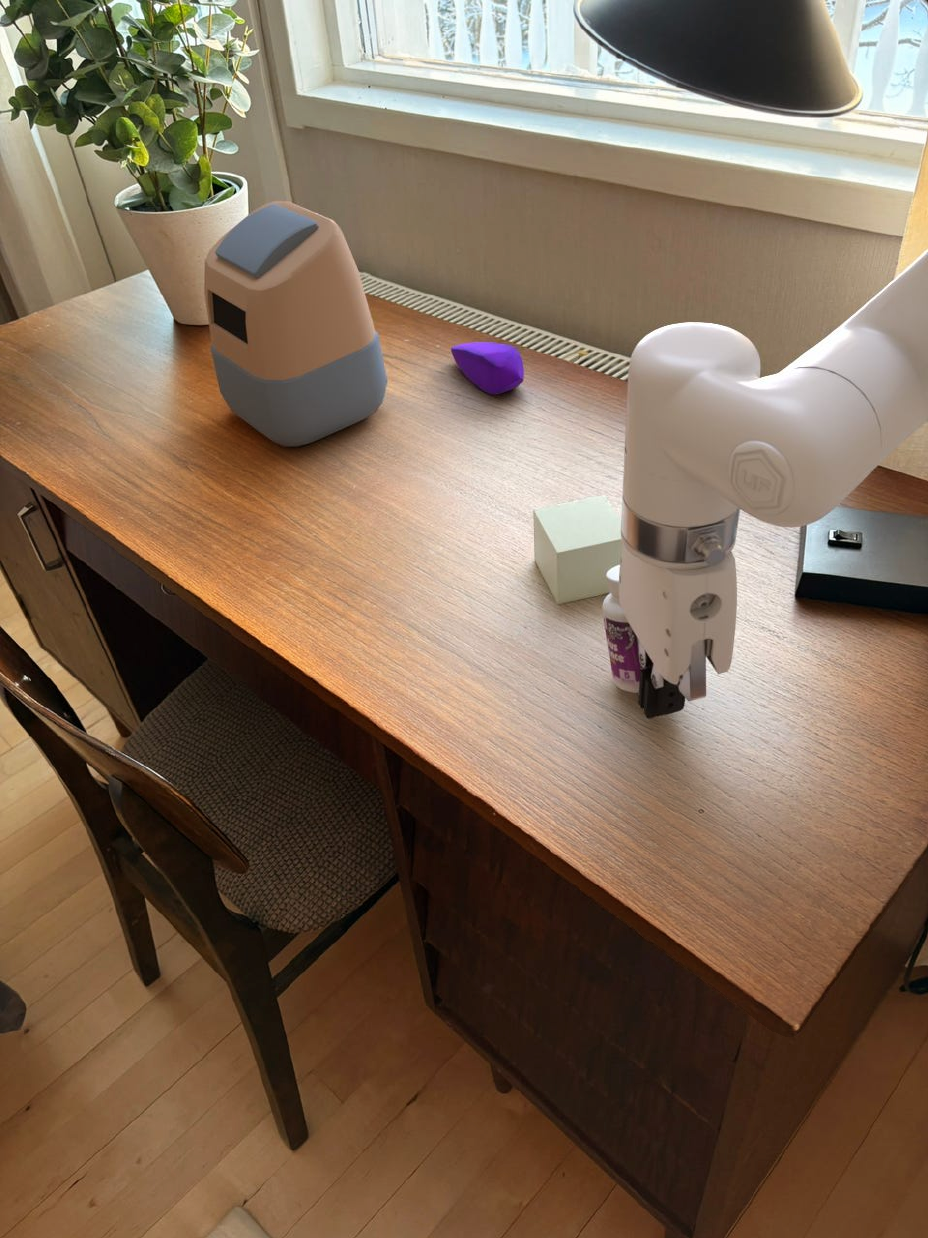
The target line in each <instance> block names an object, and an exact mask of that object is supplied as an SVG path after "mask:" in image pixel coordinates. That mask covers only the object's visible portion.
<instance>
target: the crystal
mask: <svg viewBox="0 0 928 1238" xmlns="http://www.w3.org/2000/svg"><path fill="white" fill-rule="evenodd" d="M450 352H451V355H452V357H453V359H454V361H455V363H456V365H457V367H458V368H459V370H460V371H461V372H462V373H463V374H464V376H465V377H466V378H467V379H468V381H470V382H471V383H472V384H473V385H475V386H476V387H477V388H479V389H481V390H482V391H484V392H486V393H488V394H489V395H492V396H493V395H500V394H502V393H505V392H508V391H509V392H510V391H511V390H513V389H515V388H517V387H519V386H520V385H522V383H524V378H525V368H524V361H523V358H522V356H521V354H520V352H519V350H518V348H516V347H514V346H512V345H510V344H505V343H504V344H503V343H497V342H492V341H491V342H490V341H480V342H479V341H478V342H477V341H476V342H466V343H461V344H457V345H454V346H452V347H451V348H450Z"/></svg>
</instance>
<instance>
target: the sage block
mask: <svg viewBox="0 0 928 1238" xmlns="http://www.w3.org/2000/svg"><path fill="white" fill-rule="evenodd" d="M532 519H533V520H532V521H533V556H534V557H533V558H534V562H535V564H536V566H537V567H538V569H539V572H540V574H541V576H542V577H543V579H544V581H545V583H546V585H547V587H548V589H549V591H550V593H551V595H552V597H553V599H554V602H555V603H556V605H562V604H566V603H571V602H575V601H579V600H584V599H588V598H592V597H597V596H598V597H599V596H601V595H606V594H607V595H608V594H610V592H609V590H608V588H607V579H606V574H607V572H608V571H609V570H610V569H611V568H613V567H615V566H618V565H620V559H621V550H622V540H621V517H620V516H619V514H618V513H617V511H616V510H615V508H614V507H613V506H612V504H611V503H610V501H609V500H608V498H607V496H606V495H605V494H600V495H594V496H590V497H585V498H581V499H576V500H571V501H567V502H562V503H558V504H552V505H548V506H542V507H538V508H533V509H532Z"/></svg>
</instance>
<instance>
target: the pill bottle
mask: <svg viewBox="0 0 928 1238" xmlns="http://www.w3.org/2000/svg"><path fill="white" fill-rule="evenodd" d="M619 570H620V565H618V566H615V567H613V568H611V569H610V570H609V571H608V572H607V574H606V579H607V588H608V590H609V592H610V593H608V594H607V595H606V597H605V598H604V599H603V603H602V609H601V612H602V618H603V624H604V630H605V639H606V644H607V651H608V652H607V653H608V657H609V664H610V671H611V676H612V680H613V683H614V684H615V685H616V686H617V687H618V688H619V689H621V690H623V691H626V692H628V693H635V694H639V682H640V670H642V669H646V667H644V668H643V667H642V666H641V664H640V661H639V643H638V638H637V636H636V634H635V633H634V631H633V629H632V627H631V626H630V624H629V622H628V621H627V619H626V617H625V615H624V613H623V611H622V608H621V605H620V601H619Z"/></svg>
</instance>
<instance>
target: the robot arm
mask: <svg viewBox="0 0 928 1238" xmlns="http://www.w3.org/2000/svg"><path fill="white" fill-rule="evenodd" d="M926 423H928V248H927V249H926V250H925V251H924V252H923V253H922V254H921V255H920V256H919V257H918V258H917V259H916V260H914V261H913V262H912V263H911V264H910V265H909V266H908V267H907V268H905V269H904V270H903V271H902V273H901V272H900V274H899V275H898V276H897V277H895V278H894V279H893V280H892V281H890V283H888V285H886V286H885V287H884V288H883V289H882V290H881V291H879V292H878V293H877V294H876V295H875V296H873V297H872V298H871V299H870V300H869V301H868V302H867V303H866V304H865V305H864V306H862V307H861V308H859V310H858V311H856V312H855V313H853V315H852V316H850V317H849V318H847V319H846V321H844V322H843V323H842V324H841V325H840V326H838V327H837V328H836V329H835V330H833V331H831V332H830V334H828V335H827V336H826V337H825V338H824V339H822V340H821V341H820V342H818V343H817V344H816V345H814V346H813V347H812V348H810V349H808V350H807V351H806V352H804V353H803V354H801V355H800V356H799V357H798V358H797V359H795V360H794V361H792V362H791V363H790V364H788V365H787V366H786V367H785V368H783V369H782V370H781V371H780V372H778V373H775V374H771V375H767V376H763V377H761V359H760V355H759V352H758V350H757V347H755V344H754V343H753V342H752V341H751V339H749V338H748V337H747V336H746V335H744V334H743V333H741V332H739V331H738V330H736V329H733V328H731V327H729V326H724V325H721V324H717V323H711V322H709V323H708V322H680V323H674V324H670V325H669V324H668V325H665V326H663V327H660V328H658V329H655V330H653V331H651V332H650V333H648V334H646V335H645V336H644V337H643V338H642V339H641V340H640V341H639V342H638V343H637V344H636V346H635V348H634V349H633V351H632V354H631V356H630V358H629V364H628V374H627V392H626V411H625V429H624V430H625V432H624V433H625V434H624V453H623V454H624V455H623V475H622V496H621V514H620V515H621V517H620V519H621V540H622V550H621V559H620V570H619V601H620V605H621V608H622V611H623V613H624V615H625V617H626V619H627V621H628V622H629V624H630V626H631V627H632V629H633V631H634V633H635V634H636V636H637V638H638V643H639V661H640V664H641V666H642V667H643V668H644V667H646V669H642V670H640V682H639V693H638V697H637V704H638V706H639V707H640V709H641V710H642V711H643V715H644V716H645V718H646V719H648V720H649V719H654V718H658V717H661V716H667V715H672V714H675V713H677V712H680V711H683V709H684V708H685V704H686V700H687V702H692V701H696V700H701V699H704V698H706V697H707V660H708V662H709V664H710V665H711V666H712V668H713V669H714V671H715V672H716V674H717V675H721V674H725V673H728V672H729V670H730V668H731V665H732V661H733V655H734V646H735V637H736V636H735V635H736V627H737V626H736V623H737V612H738V611H737V609H738V581H737V568H736V566H737V565H736V559H735V556H734V554H733V552H732V550H734V548H735V544H736V539H737V534H738V528H739V520H740V515H741V514H740V513H741V511H743V512H744V513H746V514H748V515H749V516H751V517H753V518H755V519H757V520H759V521H760V522H763V523H765V524H769V525H772V526H775V527H780V528H789V529H791V528H801V527H804V526H808V525H812V524H813V523H816V522H818V521H819V520H822V519H823V518H824V517H826V516H827V515H828V514H830V513H831V512H833V510H834V509H836V508H837V507H838V506H839V505H840V504H841V503H842V502H843V501H844V500H845V499H846V498H847V497H848V496H849V495H850V494H851V493H853V491H854V490H855V489H856V488H858V486H859V485H860V484H862V482H864V481H865V479H867V477H868V476H869V475H870V474H871V473H872V472H873V471H874V470H875V469H876V468H877V467H878V466H879V465H881V463H882V462H883V461H885V460H886V459H887V457H889V456H890V455H891V454H892V453H893V452H894V451H895V450H897V448H898V447H900V446H901V444H903V443H904V442H905V441H907V439H909V437H911V436H912V435H913V434H914V433H915V432H916V431H918V430H919V429H920V428H921V427H923V426H924V425H926Z"/></svg>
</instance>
